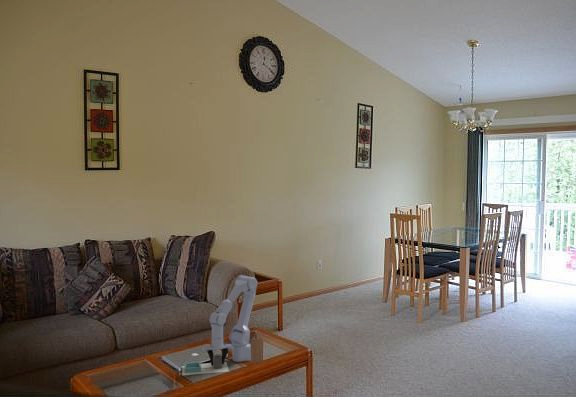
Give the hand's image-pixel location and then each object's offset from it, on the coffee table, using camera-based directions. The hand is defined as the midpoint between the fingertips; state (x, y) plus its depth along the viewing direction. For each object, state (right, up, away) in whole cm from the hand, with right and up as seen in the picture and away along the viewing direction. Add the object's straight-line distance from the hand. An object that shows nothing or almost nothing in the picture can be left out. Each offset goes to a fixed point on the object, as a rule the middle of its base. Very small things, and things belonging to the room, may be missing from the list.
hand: (217, 364), depth 231 cm
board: (-6, -2, -1) cm, 6 cm away
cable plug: (0, -1, 0) cm, 1 cm away
